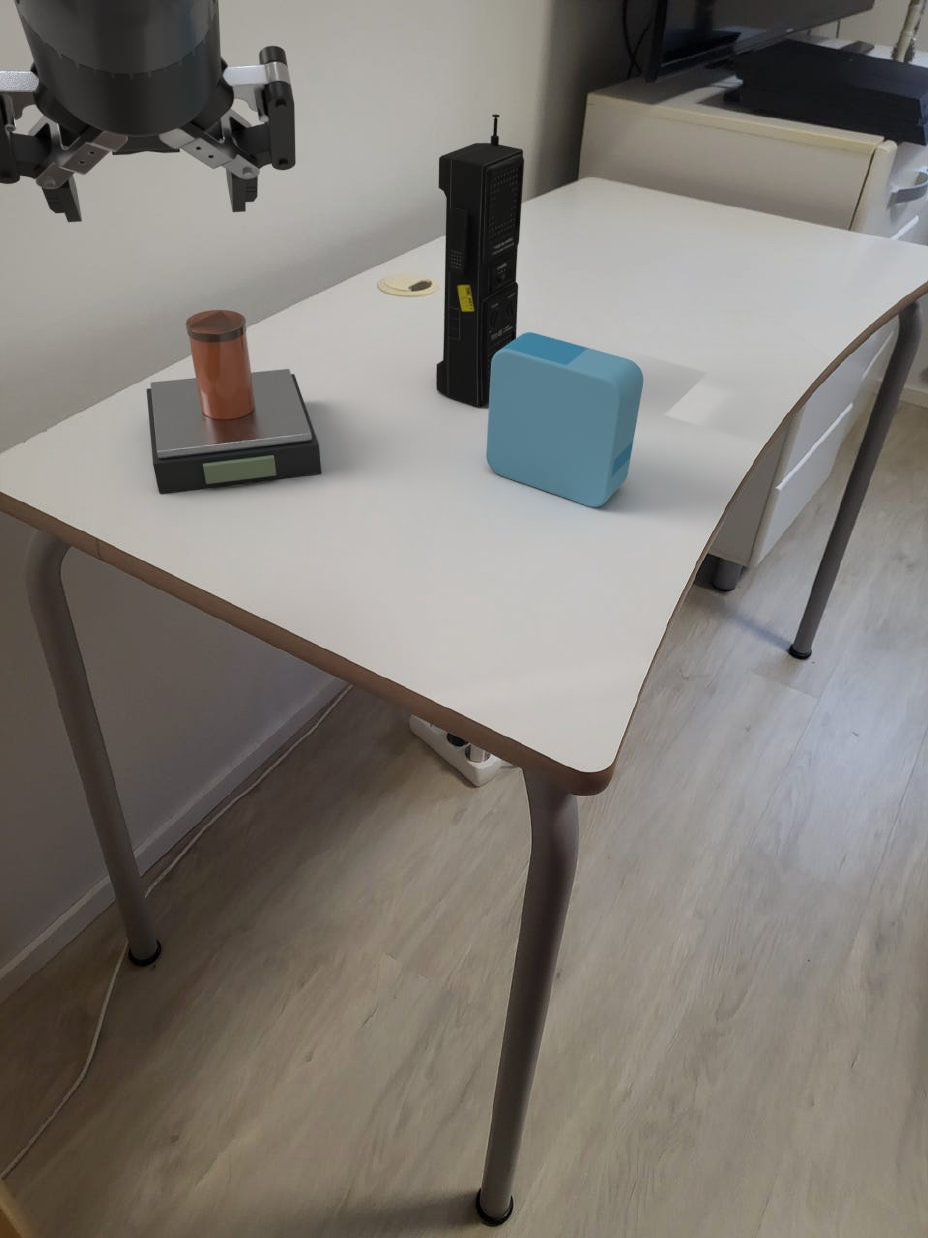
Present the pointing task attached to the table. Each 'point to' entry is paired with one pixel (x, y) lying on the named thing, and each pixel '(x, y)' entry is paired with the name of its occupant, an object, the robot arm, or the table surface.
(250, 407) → the spice tin
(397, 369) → the table surface
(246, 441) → the scale pan
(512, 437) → the data package
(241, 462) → the scale
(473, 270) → the portable radio
